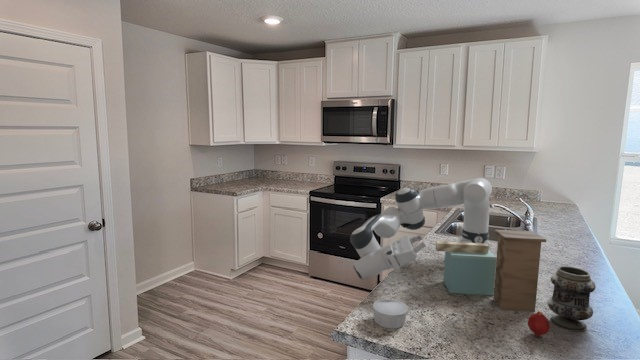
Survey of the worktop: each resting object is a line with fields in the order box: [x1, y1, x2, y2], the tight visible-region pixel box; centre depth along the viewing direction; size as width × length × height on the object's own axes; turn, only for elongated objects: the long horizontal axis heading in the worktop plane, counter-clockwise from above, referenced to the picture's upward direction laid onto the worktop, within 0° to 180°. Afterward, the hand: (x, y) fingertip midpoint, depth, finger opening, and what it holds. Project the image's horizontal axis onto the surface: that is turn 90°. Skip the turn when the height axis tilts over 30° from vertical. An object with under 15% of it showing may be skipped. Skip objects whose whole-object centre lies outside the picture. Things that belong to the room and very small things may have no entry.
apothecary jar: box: [546, 265, 597, 333], centre depth 116 cm, size 12×12×18 cm
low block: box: [443, 250, 497, 296], centre depth 142 cm, size 11×16×15 cm
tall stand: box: [493, 229, 547, 313], centre depth 128 cm, size 10×13×26 cm
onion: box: [527, 310, 551, 337], centre depth 109 cm, size 6×6×8 cm
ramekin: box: [372, 298, 409, 330], centre depth 117 cm, size 11×11×5 cm
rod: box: [435, 240, 489, 253], centre depth 142 cm, size 19×3×3 cm, turn 82°
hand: (423, 240), depth 143 cm, fingers open, 8 cm apart
